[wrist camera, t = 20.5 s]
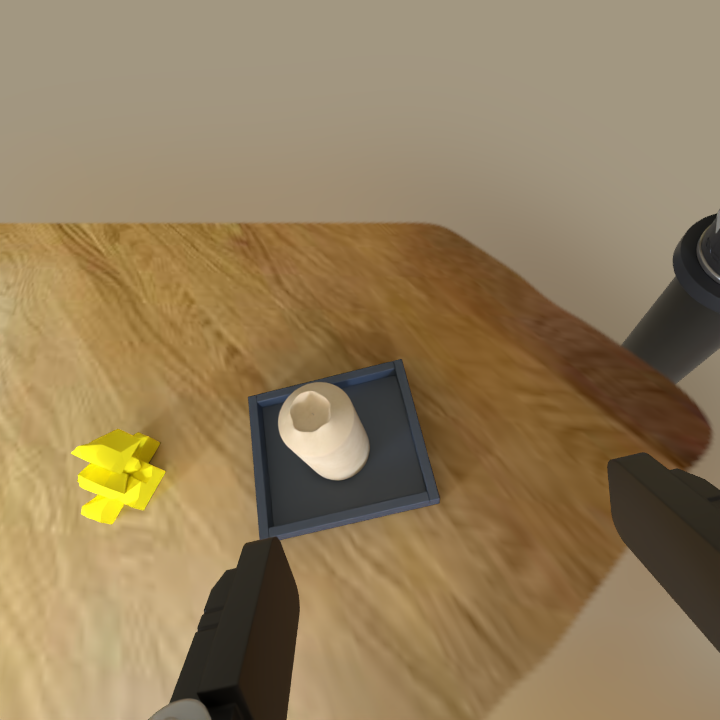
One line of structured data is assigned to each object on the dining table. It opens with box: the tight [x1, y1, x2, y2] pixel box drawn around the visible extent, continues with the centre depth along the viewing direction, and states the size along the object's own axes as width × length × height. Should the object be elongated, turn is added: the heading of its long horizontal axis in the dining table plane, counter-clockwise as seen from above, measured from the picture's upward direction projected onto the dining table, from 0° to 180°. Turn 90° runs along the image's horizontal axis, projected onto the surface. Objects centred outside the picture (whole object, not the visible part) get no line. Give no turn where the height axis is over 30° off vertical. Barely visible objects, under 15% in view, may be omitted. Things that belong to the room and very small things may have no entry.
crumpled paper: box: [71, 429, 166, 524], centre depth 38 cm, size 6×8×8 cm
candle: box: [278, 382, 370, 480], centre depth 34 cm, size 6×6×10 cm
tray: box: [248, 359, 440, 540], centre depth 38 cm, size 15×13×2 cm
